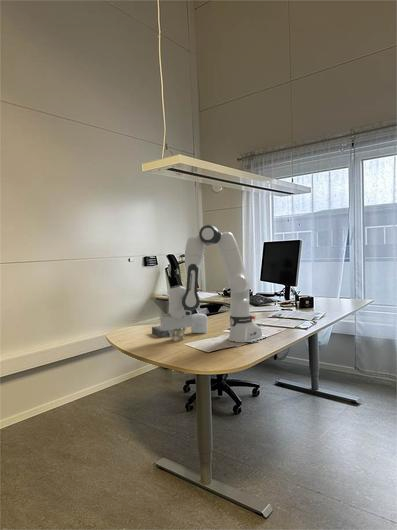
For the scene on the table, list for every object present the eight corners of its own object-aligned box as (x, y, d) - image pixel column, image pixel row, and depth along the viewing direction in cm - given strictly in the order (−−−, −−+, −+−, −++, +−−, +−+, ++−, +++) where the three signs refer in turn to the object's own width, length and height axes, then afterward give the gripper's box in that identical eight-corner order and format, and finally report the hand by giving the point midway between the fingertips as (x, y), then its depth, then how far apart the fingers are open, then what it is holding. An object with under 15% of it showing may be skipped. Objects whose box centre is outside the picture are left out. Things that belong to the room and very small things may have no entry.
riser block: (171, 330, 234) (171, 324, 234) (181, 334, 222) (180, 328, 222) (152, 333, 228) (151, 327, 227) (160, 337, 215) (160, 331, 215)
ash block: (179, 338, 214) (178, 328, 214) (182, 339, 210) (182, 329, 209) (171, 339, 212) (171, 329, 211) (175, 341, 207) (174, 331, 207)
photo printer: (207, 332, 228) (207, 312, 227) (207, 333, 223) (206, 314, 223) (191, 332, 229) (191, 313, 228) (191, 333, 224) (190, 314, 224)
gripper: (162, 315, 202) (163, 339, 203) (193, 311, 212) (194, 334, 213) (158, 314, 208) (158, 337, 208) (189, 310, 218) (189, 332, 218)
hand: (177, 335), depth 211 cm, fingers open, 6 cm apart
